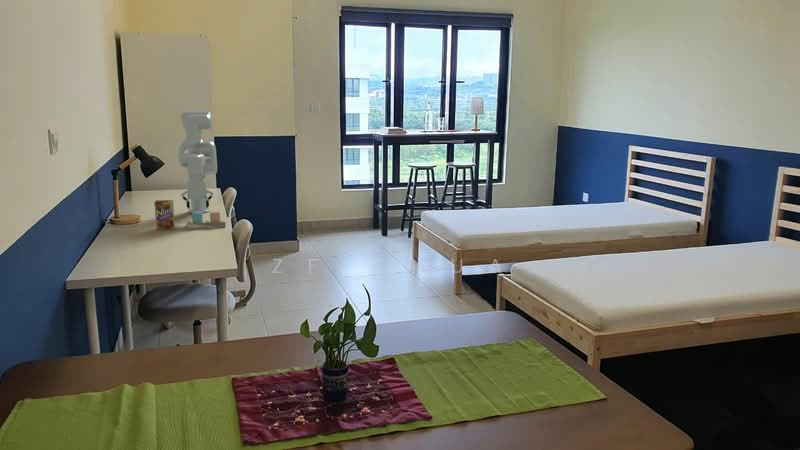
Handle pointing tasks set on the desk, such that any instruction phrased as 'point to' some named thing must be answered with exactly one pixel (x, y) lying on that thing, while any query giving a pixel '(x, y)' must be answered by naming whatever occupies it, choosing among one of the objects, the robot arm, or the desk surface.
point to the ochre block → (215, 216)
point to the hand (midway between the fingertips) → (198, 208)
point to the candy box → (164, 214)
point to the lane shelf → (206, 224)
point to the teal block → (197, 217)
